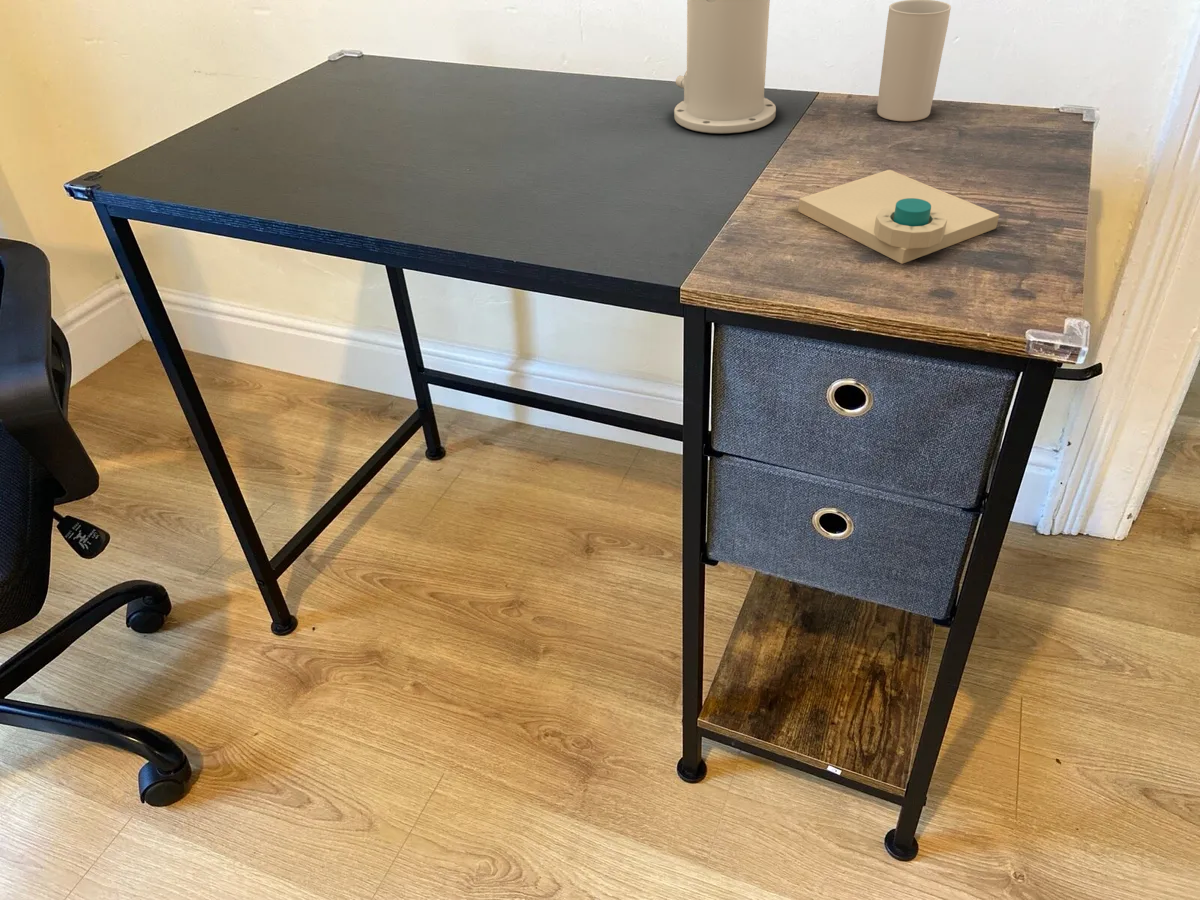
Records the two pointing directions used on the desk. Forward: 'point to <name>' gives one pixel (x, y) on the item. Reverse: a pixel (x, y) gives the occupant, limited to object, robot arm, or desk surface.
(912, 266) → the desk surface
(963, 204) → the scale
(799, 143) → the desk surface
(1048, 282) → the desk surface
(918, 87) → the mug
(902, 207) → the button
